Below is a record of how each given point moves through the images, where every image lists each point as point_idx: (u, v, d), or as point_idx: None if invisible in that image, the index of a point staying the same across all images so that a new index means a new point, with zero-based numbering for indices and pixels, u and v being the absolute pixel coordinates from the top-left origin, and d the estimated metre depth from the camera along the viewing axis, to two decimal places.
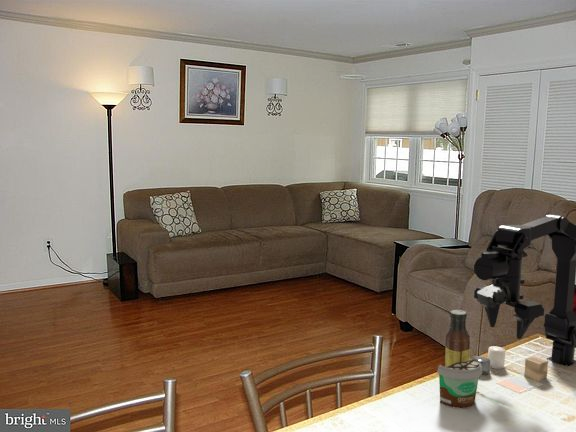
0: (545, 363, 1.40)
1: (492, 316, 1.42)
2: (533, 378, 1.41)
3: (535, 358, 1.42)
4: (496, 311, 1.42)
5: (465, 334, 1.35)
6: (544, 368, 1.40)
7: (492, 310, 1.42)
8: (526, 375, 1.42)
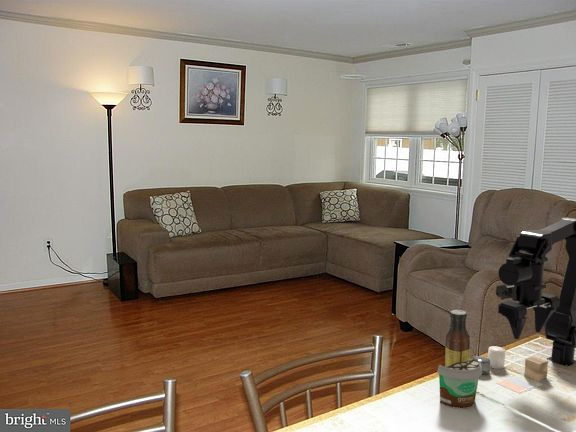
0: (545, 363, 1.40)
1: (537, 321, 1.44)
2: (533, 378, 1.41)
3: (535, 358, 1.42)
4: (543, 318, 1.42)
5: (465, 334, 1.35)
6: (544, 368, 1.40)
7: (538, 315, 1.43)
8: (526, 375, 1.42)
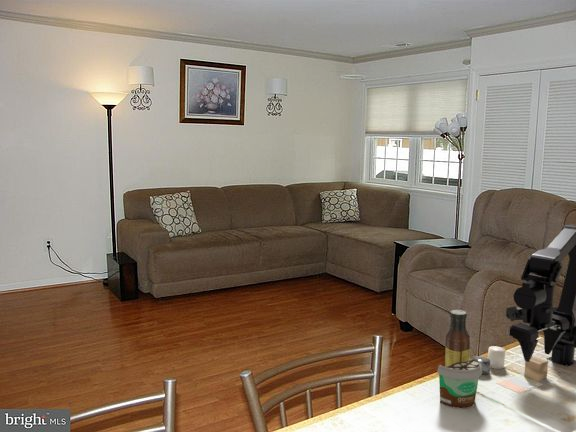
0: (545, 363, 1.40)
1: (547, 343, 1.44)
2: (533, 378, 1.41)
3: (535, 358, 1.42)
4: (552, 340, 1.42)
5: (465, 334, 1.35)
6: (544, 368, 1.40)
7: (548, 337, 1.44)
8: (526, 375, 1.42)
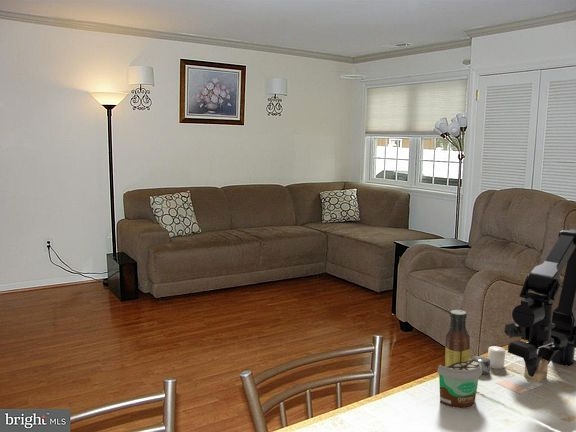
0: (545, 363, 1.40)
1: None
2: (533, 378, 1.41)
3: None
4: (546, 359, 1.42)
5: (465, 334, 1.35)
6: (544, 368, 1.40)
7: (541, 356, 1.43)
8: (526, 375, 1.42)
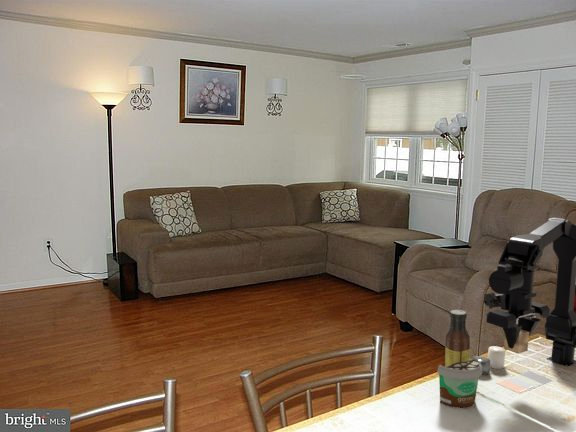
0: (526, 334, 1.34)
1: None
2: (513, 350, 1.34)
3: None
4: (527, 330, 1.35)
5: (465, 334, 1.35)
6: (525, 339, 1.34)
7: (522, 327, 1.36)
8: (506, 347, 1.35)
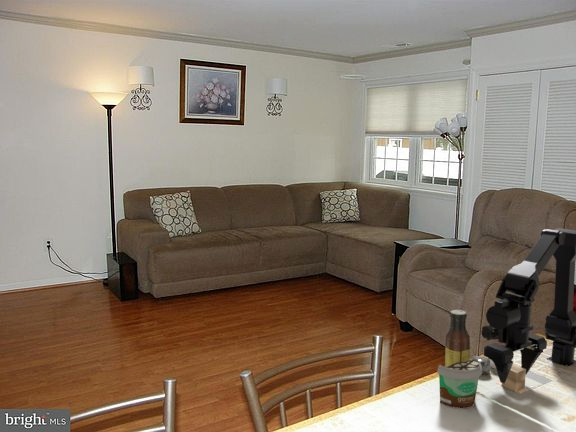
0: (523, 372, 1.35)
1: (524, 363, 1.39)
2: (510, 387, 1.35)
3: (513, 366, 1.37)
4: (529, 361, 1.38)
5: (465, 334, 1.35)
6: (522, 377, 1.35)
7: (525, 357, 1.39)
8: (503, 384, 1.37)
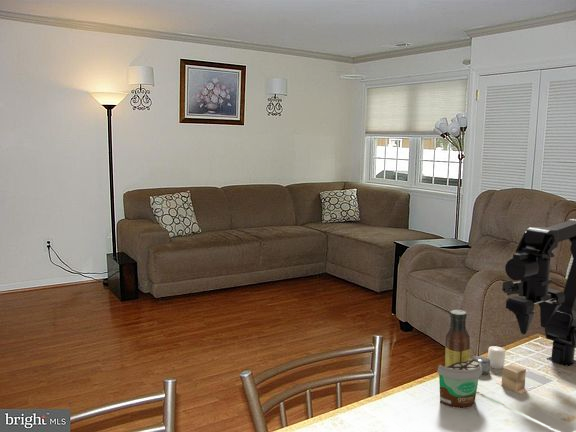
0: (523, 372, 1.35)
1: (543, 316, 1.45)
2: (510, 387, 1.35)
3: (513, 366, 1.37)
4: (548, 314, 1.44)
5: (465, 334, 1.35)
6: (522, 377, 1.35)
7: (544, 311, 1.45)
8: (503, 384, 1.37)
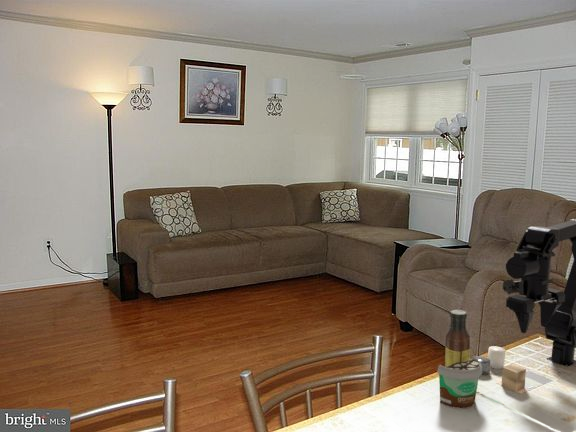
0: (523, 372, 1.35)
1: (543, 316, 1.46)
2: (510, 387, 1.35)
3: (513, 366, 1.37)
4: (549, 313, 1.44)
5: (465, 334, 1.35)
6: (522, 377, 1.35)
7: (544, 310, 1.45)
8: (503, 384, 1.37)
